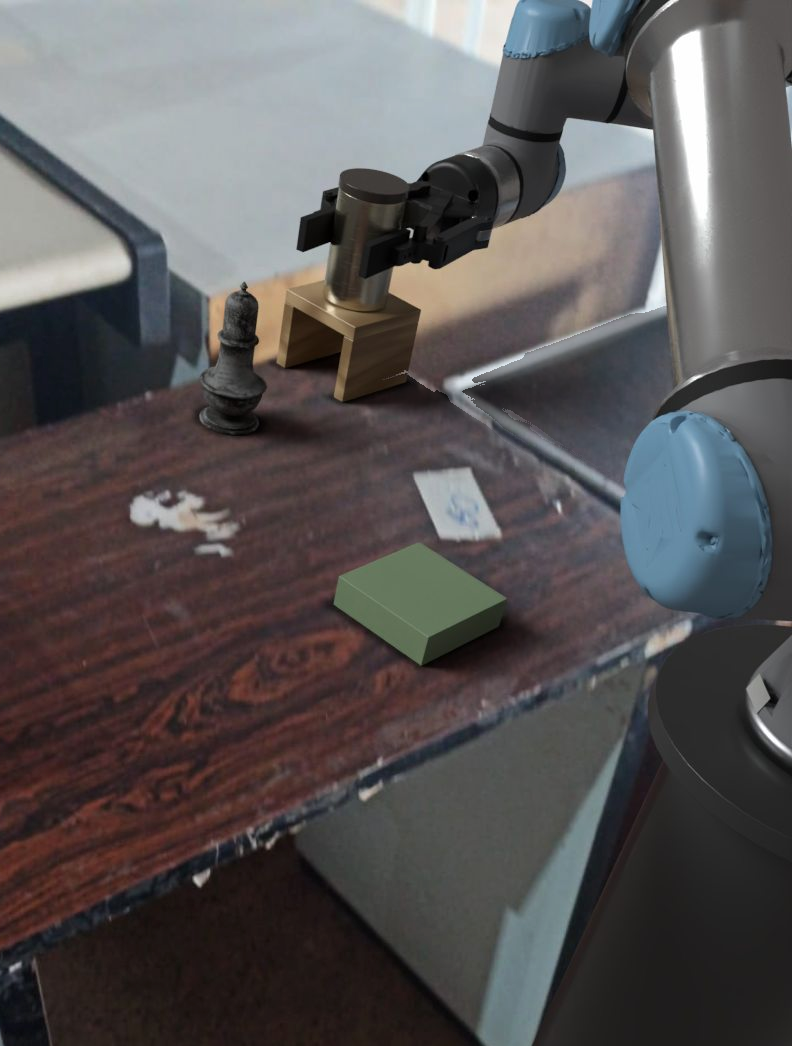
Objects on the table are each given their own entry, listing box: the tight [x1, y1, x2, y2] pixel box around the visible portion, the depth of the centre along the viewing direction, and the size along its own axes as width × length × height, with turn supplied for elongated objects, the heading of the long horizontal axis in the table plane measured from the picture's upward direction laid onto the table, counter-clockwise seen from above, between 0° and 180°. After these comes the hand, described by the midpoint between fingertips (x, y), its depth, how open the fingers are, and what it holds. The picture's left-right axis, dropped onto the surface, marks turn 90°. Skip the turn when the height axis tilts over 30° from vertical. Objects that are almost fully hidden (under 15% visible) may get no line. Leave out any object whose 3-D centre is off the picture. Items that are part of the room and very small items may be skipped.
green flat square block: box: [333, 541, 508, 667], centre depth 95 cm, size 9×9×2 cm
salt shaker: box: [199, 281, 268, 436], centre depth 109 cm, size 6×6×12 cm
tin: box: [323, 167, 410, 311], centre depth 115 cm, size 6×6×10 cm
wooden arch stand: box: [276, 279, 422, 403], centre depth 121 cm, size 9×9×7 cm
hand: (333, 247), depth 111 cm, fingers closed on tin, 6 cm apart
